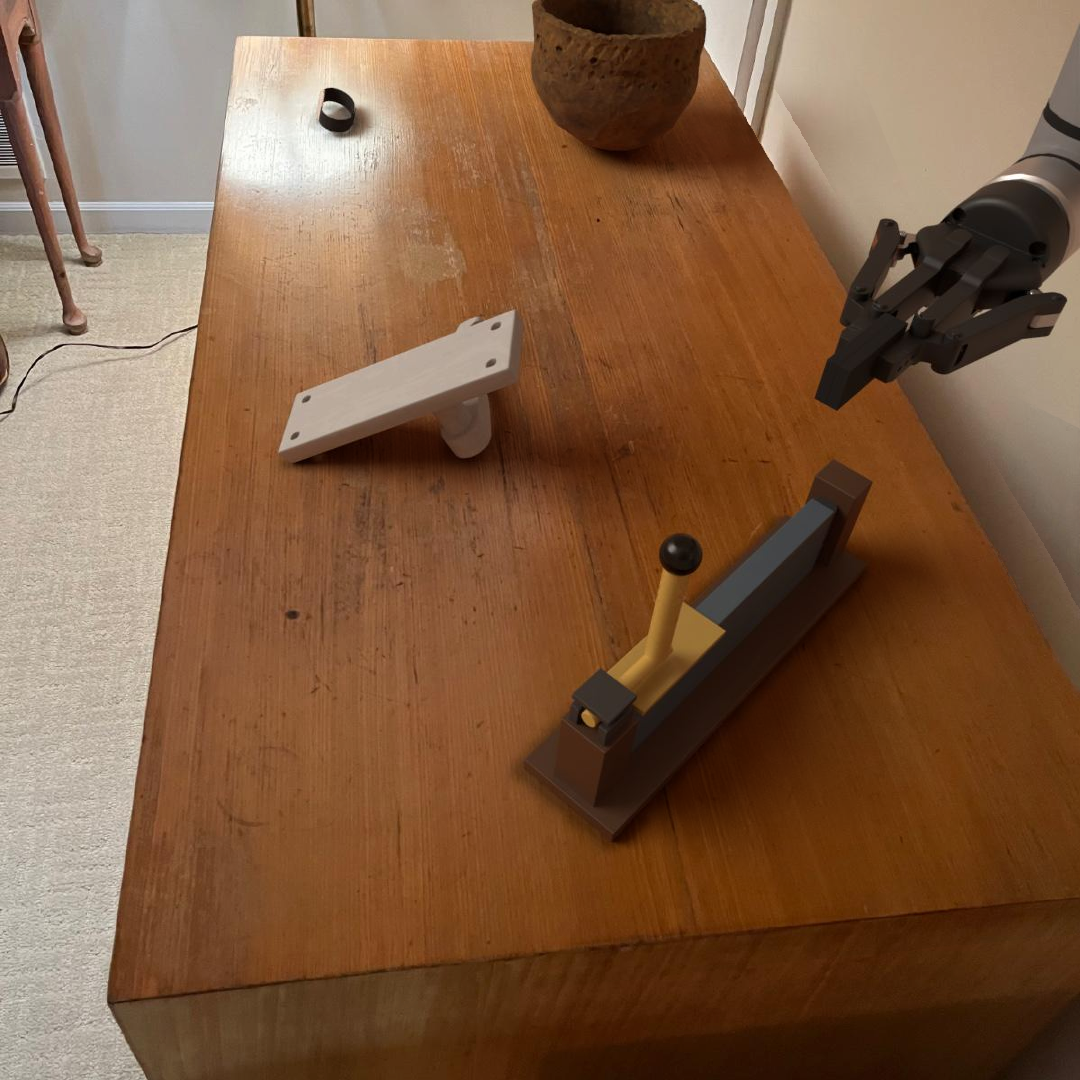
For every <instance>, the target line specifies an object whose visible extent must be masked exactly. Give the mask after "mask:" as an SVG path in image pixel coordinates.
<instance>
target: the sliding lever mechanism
mask: <svg viewBox="0 0 1080 1080" xmlns="http://www.w3.org/2000/svg"><path fill="white" fill-rule="evenodd" d="M872 485H873V480H871V479H869V478H868V477H866V476H864V475H862V474H861V473H859V472H857V471H855V469H851V468H850V467H848V466H847V465H845V464H843V463H842V462H839V461H838V460H836V459H834V458H832V459H831V460H830V461H829V462H828V463H827V464H826V465H825V466H824V467H823V468H822V469H820V470H819V471H818V472H817V473H816V474H815V475H814V478H813V481H812V483H811V486H810V489H809V492H808V494H807V497H806V500H805V503H804V505H803V506H802V507H801V508H800V509H799V510H798V511H797V512H796V513H795V514H794V515H793V516H792V517H791V516H789V515H788V514H785V515H784V516H783V517H782V518H781V519H780V520H778V521H777V522H776V523H775V524H774V525H773V526H772V527H771V528H769V530H768V531H766V533H765V534H764V535H763V536H762V537H760V538H759V539H758V540H757V541H756V542H755V543H754V544H753V545H751V546H750V547H749V548H748V549H747V551H745V552H744V553H743V554H741V556H740V557H739V558H738V559H737V560H736V561H734V563H732V564H731V565H730V566H729V567H728V568H727V569H726V570H725V571H724V572H723V573H722V574H721V575H719V576H718V577H717V578H716V579H715V580H714V581H713V582H712V583H711V584H710V585H709V586H708V587H707V588H706V589H705V590H704V591H702V592H701V593H700V594H699V595H698V596H697V597H696V598H695V599H694V600H692V602H691V603H690V604H687V603H686V602H684V601H683V603H682V607H681V611H680V614H679V618H678V622H677V626H676V630H675V634H674V637H673V641H672V647H673V652H672V653H671V654H670V655H669V656H668V658H667V659H666V660H665V661H663V662H662V663H661V664H660V665H659V666H658V667H656V668H655V669H654V670H653V671H652V672H651V673H650V674H649V675H648V676H647V677H646V678H645V679H644V680H643V681H642V682H641V683H640V684H639V685H638V686H637V687H636V688H635V689H634V690H633V691H630V690H629V689H628V688H626V687H625V686H624V685H622V684H621V683H620V682H618V681H617V680H618V679H619V678H620V677H621V676H622V675H623V674H624V673H625V672H626V671H627V670H628V669H629V668H630V667H632V666H633V665H634V664H635V663H636V662H637V661H638V660H639V659H640V658H641V657H642V656H643V655H644V654H645V652H644V650H645V646H646V641H647V637H648V634H646V636H644V637H643V638H642V639H641V640H640V641H639V642H638V643H636V645H635V646H634V647H633V648H631V650H630V651H628V652H627V653H626V654H625V655H624V656H623V657H622V658H621V659H619V660H618V661H617V662H616V663H615V664H614V665H613V666H612V667H611V668H610V669H609V670H608V671H605V670H604V669H603V668H600V667H599V669H598V670H596V671H595V672H594V673H593V674H592V675H591V676H590V677H589V678H587V680H585V682H583V683H582V684H581V685H580V686H579V687H578V688H577V689H576V690H575V691H574V692H573V693H572V694H571V699H573V702H571V704H570V707H569V708H570V709H569V710H568V711H567V712H566V713H565V714H564V715H563V716H562V717H561V718H560V723H559V724H560V725H559V726H558V727H557V728H556V729H555V730H554V731H553V732H552V733H550V734H549V735H548V736H547V737H546V738H545V739H544V740H543V741H542V742H541V743H539V744H538V746H536V747H535V749H534V750H532V751H531V752H530V753H529V754H528V755H527V756H526V757H525V758H524V759H523V769H525V771H527V772H528V773H529V774H530V775H531V776H533V777H534V778H535V779H537V781H539V782H540V783H541V784H542V785H543V786H544V787H546V788H547V789H548V790H549V791H550V792H551V793H553V794H554V795H555V796H556V797H558V798H559V799H560V800H561V801H563V803H565V804H566V805H567V806H568V807H570V808H571V809H572V810H573V812H576V813H577V814H578V815H579V816H580V817H581V818H583V819H584V820H585V822H587V823H588V824H590V825H591V826H592V827H593V828H594V829H596V830H597V831H598V832H599V833H600V834H601V835H603V836H604V837H605V838H606V839H608V840H609V841H610V843H611V842H613V841H614V840H616V838H617V837H618V836H619V835H620V834H621V833H622V832H623V831H624V830H625V828H626V827H627V826H628V825H629V824H630V823H631V822H632V821H633V820H634V819H635V818H636V817H637V816H638V815H639V814H640V812H641V811H642V810H643V809H644V808H645V807H646V806H647V805H648V804H649V803H650V802H651V801H652V800H653V798H654V797H656V795H658V793H659V792H660V791H661V790H662V789H663V788H664V787H665V786H666V784H668V782H670V780H671V779H672V778H673V777H674V776H675V775H676V774H677V773H678V772H679V771H680V770H681V769H682V768H683V766H684V765H686V763H687V762H688V761H689V760H690V759H691V758H692V757H693V756H694V755H695V754H696V752H698V750H699V749H700V748H701V747H702V746H703V745H704V744H705V743H706V742H707V741H708V740H709V739H710V737H711V736H712V735H713V734H714V733H715V732H716V731H717V730H718V729H719V728H720V727H721V726H722V725H723V723H725V721H726V720H727V719H728V718H729V717H730V716H731V715H732V714H733V713H734V712H735V711H736V710H737V708H739V706H740V705H741V704H742V703H743V702H744V701H745V700H746V699H747V698H748V697H749V696H750V694H752V692H753V691H754V690H756V688H757V687H758V686H760V684H761V683H762V682H763V681H764V680H765V679H766V677H768V675H769V674H770V673H772V671H773V670H774V669H775V668H776V667H777V666H778V665H779V663H780V662H782V660H783V659H785V657H786V656H787V655H788V654H789V653H790V652H791V651H792V650H793V649H794V647H796V645H797V644H798V643H799V642H800V641H801V640H802V639H803V638H804V637H805V636H806V635H807V633H808V632H809V631H811V630H812V628H813V627H814V626H815V625H817V623H818V621H820V620H821V618H822V617H824V615H825V614H826V613H828V611H829V610H830V609H831V608H832V607H833V606H834V605H835V603H837V601H839V600H840V598H841V597H842V596H843V595H844V594H845V593H846V591H848V589H850V587H851V586H852V585H853V584H854V583H855V582H856V581H857V580H859V578H860V577H861V576H862V575H863V574H864V572H865V569H866V568H867V565H868V563H867V562H865V561H863V560H861V559H860V558H859V557H857V556H855V555H853V554H851V553H850V552H849V551H847V550H846V548H847V545H848V543H849V540H850V538H851V535H852V532H853V530H854V528H855V526H856V523H857V521H858V519H859V517H860V514H861V511H862V509H863V507H864V504H865V503H866V499H867V497H868V495H869V492H870V490H871V488H872ZM586 709H587V710H588V711H589V712H591V713H592V714H593V715H594V716H596V717H597V718H598V719H600V720H601V721H600V722H599V723H598V724H597V725H596V726H595V727H590V726H588V725H587V724H586V723H585V722H584V721H583V719H582V716H581V715H582V713H583V712H584V711H585V710H586Z"/></svg>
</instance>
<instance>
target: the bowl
mask: <svg viewBox="0 0 1080 1080" xmlns="http://www.w3.org/2000/svg"><path fill="white" fill-rule="evenodd" d="M531 13H532V27H533V48H532V53H531V56H530V73H531V81H532V83H533V86H534V88H535V91H536V93H537V95H538V98H539V99H540V101H541V102H542V104H543V105H544V107H545V110H546V111H547V112H548V114H549V116H550V117H551V119H552V121H553V122H554V124H555V125H557V126H558V127H559V128H561V129H563V130H564V131H565V132H567V133H568V134H570V135H571V136H573V137H575V138H576V139H578V141H580V142H581V143H582V144H584V145H587V146H588V147H591V148H596V149H601V150H605V151H617V152H623V151H624V152H625V151H632V150H636V149H640V148H643V147H645V146H648V145H650V144H652V143H653V142H654V141H656V140H657V139H659V138H661V137H662V136H663V135H665V134H666V133H667V132H669V131H670V130H672V129H673V128H674V127H675V125H676V124H677V122H678V120H679V119H680V117H681V115H683V113H684V111H685V110H686V109H687V107H688V106H689V105H690V104H691V102H692V100H693V98H694V97H695V96H694V95H695V94H696V92H697V88H698V83H699V79H700V78H699V77H700V66H701V56H702V53H703V49H704V47H705V43H706V37H707V36H706V35H707V16H706V12H705V9H703V5H702V4H699V3H698V1H695V0H534V1H533V2H532V3H531Z"/></svg>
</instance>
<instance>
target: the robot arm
mask: <svg viewBox="0 0 1080 1080" xmlns="http://www.w3.org/2000/svg"><path fill="white" fill-rule="evenodd" d="M1078 250H1080V22H1079V23H1078V25H1077V27H1076V30H1075V33H1074V36H1073V38H1072V41H1071V44H1070V46H1069V49H1068V51H1067V54H1066V56H1065V59H1064V61H1063V64H1062V66H1061V69H1060V72H1059V74H1058V76H1057V79H1056V82H1055V84H1054V87H1053V89H1052V92H1051V94H1050V96H1049V98H1048V99H1047V102H1046V104H1045V107H1044V108H1043V109H1042V112H1041V114H1040V116H1039V118H1038V121H1037V124H1036V125H1035V128H1034V130H1033V132H1032V134H1031V137H1030V140H1029V142H1028V144H1027V146H1026V148H1025V150H1024V153H1023V154H1022V156H1021V157H1020V158H1018V159H1017V160H1016V161H1015V162H1013V164H1011V165H1010V166H1008V167H1007V168H1006V169H1003V171H1001V172H1000V173H998V174H997V175H996V176H994V177H993V178H991V179H990V180H989V181H988V182H986V183H985V184H984V185H982V186H981V187H980V188H978V189H977V190H976V191H975V192H973V193H972V194H971V195H970V196H968V197H967V198H965V199H963V201H961V202H960V203H959V204H957V205H956V206H955V207H954V208H952V209H951V211H949V212H948V213H947V214H946V215H945V216H944V218H942V219H941V221H940V222H938V223H937V224H932V225H926V226H924V227H922V228H920V229H919V230H918V231H917V233H909V232H907V231H905V230H900V227H899V223H898V222H897V221H896V220H894V219H893V218H887V217H886V218H885V217H884V218H881V219H880V220H879V222H878V225H877V228H876V231H875V233H874V236H873V240H872V242H871V246H870V248H869V251H868V256H867V258H866V260H865V261H864V263H863V265H862V266H861V268H860V270H859V271H858V273H857V275H856V276H855V278H854V280H852V283H851V284H850V287H849V289H848V292H847V296H846V299H845V302H844V305H843V307H842V311H841V314H840V317H839V321H838V322H839V324H840V325H841V326H843V327H845V328H844V329H842V330H841V332H840V335H839V338H838V341H837V344H836V347H835V351H834V353H833V354H832V355H830V357H828V358H827V359H826V362H825V365H824V368H823V370H822V374H821V377H820V380H819V382H818V385H817V389H816V392H815V395H814V400H816V401H818V402H820V403H822V404H823V405H825V406H827V407H829V408H831V409H833V410H835V412H837V411H839V410H840V409H842V408H843V406H845V405H846V404H847V403H848V402H849V401H850V400H852V399H853V398H854V397H855V396H857V394H858V393H860V392H861V391H862V390H863V389H864V388H866V387H867V386H868V385H869V384H870V383H871V382H872V381H873V380H874V379H876V380H877V381H879V382H882V383H884V384H889V383H892V382H895V380H896V379H898V377H900V376H901V375H902V374H903V373H904V372H905V371H906V370H908V368H910V367H911V366H916V365H918V364H919V363H925V364H930V369H931V370H932V371H933V372H934V373H936V374H938V375H949V374H952V373H954V372H956V371H958V370H960V369H962V368H965V367H967V366H968V365H971V364H973V363H975V362H977V361H980V360H981V359H983V358H986V357H988V356H990V355H992V354H994V353H996V352H998V351H1000V350H1003V349H1005V348H1006V347H1010V346H1011V345H1013V344H1015V343H1018V342H1020V341H1022V340H1028V339H1037V338H1046V337H1049V336H1050V335H1051V333H1052V332H1053V330H1054V328H1055V326H1056V323H1057V321H1058V320H1059V318H1060V316H1061V314H1062V312H1063V310H1064V308H1065V306H1066V304H1067V303H1068V298H1067V297H1066V296H1065V295H1064V294H1062V293H1060V292H1056V291H1050V292H1049V291H1048V292H1043V291H1042V290H1041V289H1040V288H1042V286H1043V283H1045V281H1047V280H1048V279H1049V278H1050V277H1051V276H1052V275H1053V274H1054V273H1055V272H1056V271H1057V270H1058V269H1059V268H1060V267H1062V265H1063V264H1065V262H1066V261H1067V260H1068V259H1069V258H1070V257H1072V256H1073V255H1074V254H1075V253H1076V252H1077V251H1078ZM907 255H910V257H911V261H912V265H913V269H912V270H911V271H910V272H909V273H907V274H906V275H905V276H903V277H901V278H900V279H899V280H898V281H897V282H895V284H893V285H892V286H891V287H889V288H888V289H887V290H885V291H884V292H883V293H882V294H880V295H879V296H877V294H878V292H879V291H880V289H881V287H882V286H883V284H884V282H885V281H886V279H887V277H888V274H889V273H890V272H889V271H890V269H891V268H895V267H897V265H898V262H899V261H902V260H904V259H905V256H907ZM876 296H877V298H876ZM922 308H925V309H924V310H923V311H921V309H922ZM919 311H920V313H919ZM983 311H984V312H983ZM979 313H980V314H979ZM910 318H912V320H911V322H910V325H909V322H907V321H908V320H910ZM908 326H909V328H908Z"/></svg>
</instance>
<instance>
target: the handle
mask: <svg viewBox="0 0 1080 1080" xmlns="http://www.w3.org/2000/svg"><path fill="white" fill-rule="evenodd" d="M523 336H524V324H523V320H522V319H521V317H520V314H519V312H518V311H517V310H516V309H511V310H509V311H506V312H504V313H501V314H498V315H496V316H494V317H491V318H488V319H486V320H484V319H483V318H482V317H480V316H474V317H471V318H468V319H467V320H465V321H462V322H461V323H460V324H459V325H458V327H457V328H456V331H454V332H452V333H449V334H446V335H444V336H441V337H439V338H436V339H434V340H432V341H429V342H427V343H424V344H421V345H419V346H415V347H413V348H411V349H408V350H405V351H403V352H401V353H398V354H396V355H394V356H391V357H388V358H385V359H383V360H381V361H380V360H379V361H378V362H375V363H373V364H370V365H368V366H365V367H363V368H360V369H357V370H355V371H352V372H350V373H347V374H345V375H342V376H340V377H337V378H334V379H332V380H329V381H326V382H324V383H322V384H318V385H316V386H314V387H311V388H307V389H306V390H304V391H301V392H298V393H296V394H295V398H294V400H293V401H294V402H293V404H292V408H291V410H290V414H289V417H288V420H287V423H286V426H285V429H284V432H283V435H282V438H281V442H280V444H279V448H278V450H277V453H278V455H279V456H280V457H281V458H282V459H284V460H285V461H287V462H288V463H292V464H294V463H297V462H300V461H303V460H306V459H308V458H311V457H314V456H316V455H319V454H322V453H325V452H327V451H331V450H334V449H336V448H339V447H342V446H345V445H348V444H350V443H352V442H353V443H354V442H356V441H358V440H359V441H360V440H362V439H364V438H367V437H370V436H372V435H375V434H378V433H381V432H384V431H386V430H389V429H392V428H395V427H397V426H400V425H403V424H406V423H409V422H412V421H414V420H417V419H421V418H422V417H425V416H428V415H431V414H433V416H434V417H435V418H436V419H437V421H438V422H439V424H440V425H441V429H440V436H441V437H442V439H443V440H444V442H445V443H446V445H447V446H448V448H450V450H451V451H452V452H453V453H454V455H455V456H456V457H457V458H459V459H468V458H472V457H475V456H476V455H478V454H480V453H481V452H483V451H484V450H485V449H486V448H487V447H488V445H489V443H490V442H491V439H492V424H491V423H492V422H491V421H492V420H491V408H490V401H489V396H488V394H489V393H492V392H495V391H498V390H501V389H503V388H505V387H506V388H507V387H509V386H512V385H514V384H517V383H519V375H520V368H521V367H520V365H521V356H522V347H523V338H524V337H523Z"/></svg>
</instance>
